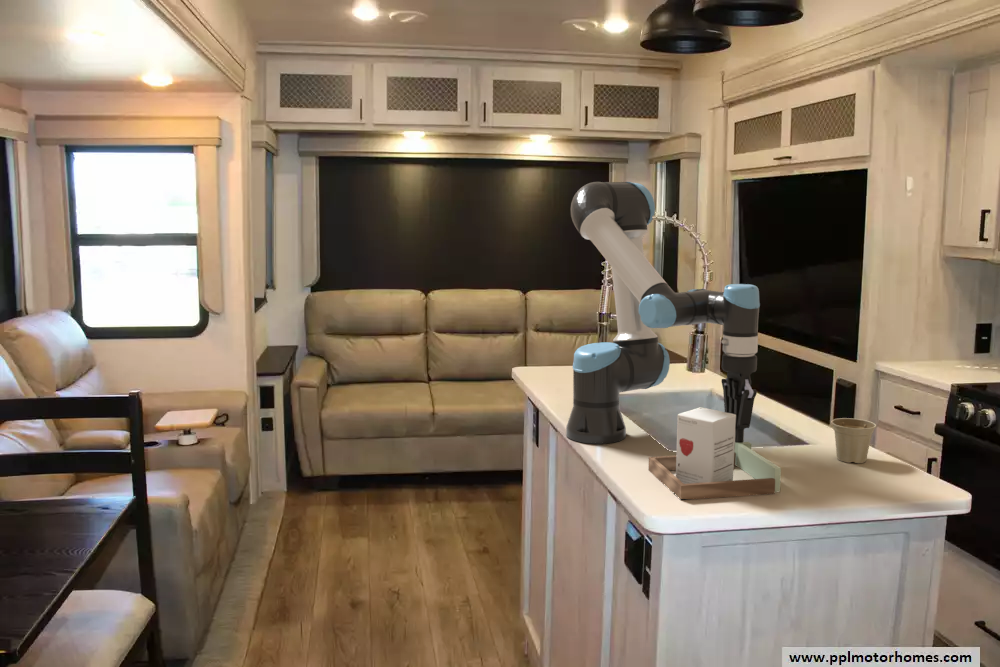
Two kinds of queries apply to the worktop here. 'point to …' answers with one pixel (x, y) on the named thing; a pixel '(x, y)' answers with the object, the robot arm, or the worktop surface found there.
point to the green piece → (756, 464)
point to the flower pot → (852, 439)
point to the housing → (707, 489)
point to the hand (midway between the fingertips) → (736, 455)
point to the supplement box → (705, 446)
